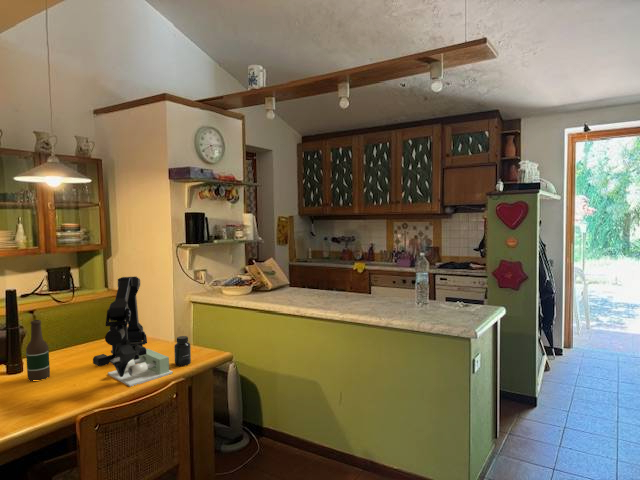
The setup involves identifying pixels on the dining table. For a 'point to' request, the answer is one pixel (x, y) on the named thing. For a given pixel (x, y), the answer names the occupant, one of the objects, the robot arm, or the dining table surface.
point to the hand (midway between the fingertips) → (121, 376)
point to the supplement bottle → (182, 351)
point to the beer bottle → (37, 354)
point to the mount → (151, 374)
